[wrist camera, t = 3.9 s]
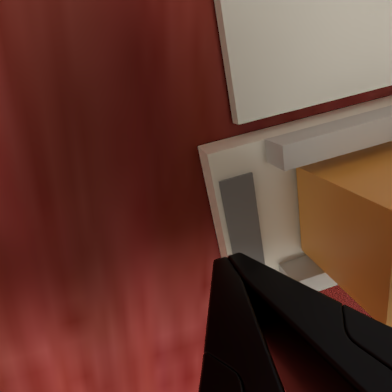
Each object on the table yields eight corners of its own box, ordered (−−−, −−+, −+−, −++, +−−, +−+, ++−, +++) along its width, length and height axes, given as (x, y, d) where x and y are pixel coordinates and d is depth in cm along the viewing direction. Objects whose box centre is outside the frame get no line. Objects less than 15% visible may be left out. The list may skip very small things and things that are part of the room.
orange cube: (395, 137, 10) (547, 164, 6) (388, 222, 11) (509, 283, 8) (295, 166, 9) (396, 212, 6) (301, 250, 11) (385, 329, 7)
